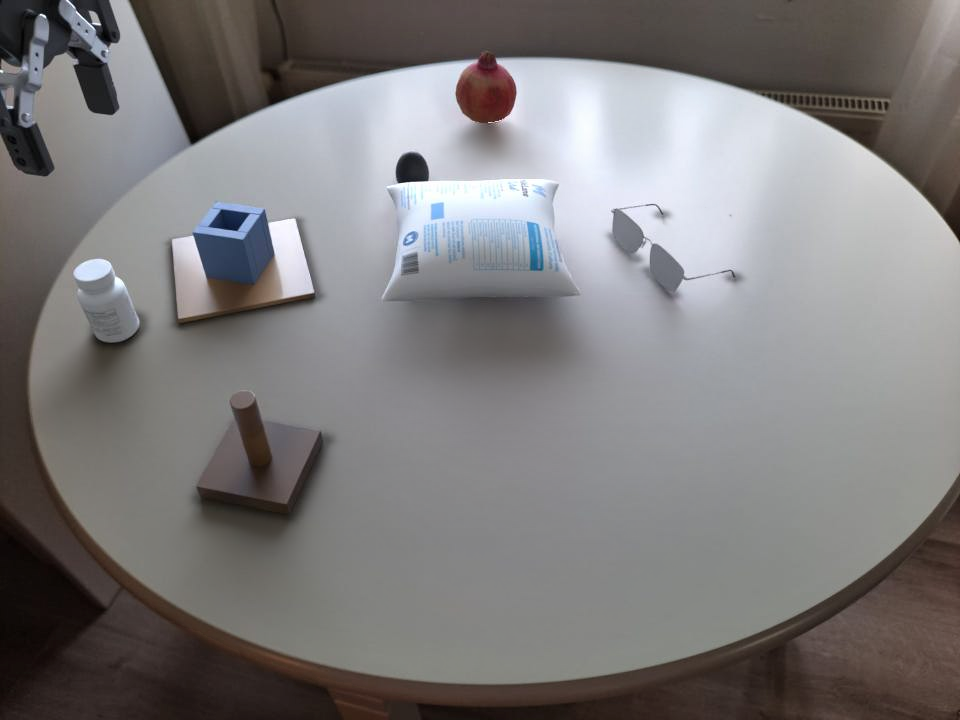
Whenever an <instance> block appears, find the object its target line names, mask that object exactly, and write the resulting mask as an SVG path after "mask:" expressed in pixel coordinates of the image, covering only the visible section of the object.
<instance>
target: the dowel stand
mask: <svg viewBox="0 0 960 720" xmlns="http://www.w3.org/2000/svg"><path fill="white" fill-rule="evenodd" d="M229 405H230V409H231V411H232V415H233V421H232V422H231V423H230V426H229V428H228V429H227V431H226V433H225V434H224V436H223V438H222V440H221V442H220V444H219V445H218V447H217V449H216V450H215V452H214V455H213V456H212V458H211V460H209V463H208V465H207V466H206V468H205V470H204V472H203V474H202V475H201V477H200V479H199V481H198V483H197V484H196V486H195V487H196V490H197V492H198V495H199V497H200V498H203V499H204V498H205V499H210V500H215V501H219V502H225V503H230V504H234V505H239V506H244V507H250V508H255V509H260V510H263V511H264V510H265V511H270V512H275V513H280V514H285V515H290V514H291V513H292V510H293V508H294V506H295V504H296V501H297V499H298V497H299V495H300V492H301V490H302V488H303V487H304V484H305V482H306V479H307V477H308V475H309V472H310V470H311V468H312V466H313V464H314V462H315V460H316V457H317V456H318V453H319V450H320V448H321V446H322V444H323V442H324V439H323V434H322V430H320V429H316V428H312V427H311V428H310V427H305V426H299V425H293V424H289V423H283V422H278V421H271V420H266V419H263V417H262V414H261V411H260V408H259V404H258V401H257V397H256V394H255V393H254V392H252V391H250V390H246V389H245V390H244V389H243V390H238V391H236V392H235V393H234V394H232V395H231V396H230V399H229Z"/></svg>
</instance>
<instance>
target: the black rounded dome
mask: <svg viewBox="0 0 960 720" xmlns="http://www.w3.org/2000/svg"><path fill="white" fill-rule="evenodd" d="M395 179H396V182H397V184H401V183H409V182H429V179H430V169H429V166H428V163H427V161H426V159H425V158H424V156H423V155H422V153H419V152H418V151H416V150H414V149H410V150H406V151H405V152H403V153H402V154H401V155H400V157H399V158H398V160H397V163H396V165H395Z"/></svg>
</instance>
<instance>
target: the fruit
mask: <svg viewBox="0 0 960 720" xmlns="http://www.w3.org/2000/svg"><path fill="white" fill-rule="evenodd" d="M478 55H479V56H478V57H477V61H475V62H472V63H470V64H469V65H468V66H466V68H464V69H463V71H462V72H461V73H460V75H459V78H458V81H457V84H456V86H455V99H456V103H457V105H458V106H459V109H460V111H461V113H462V114H463V115H464V116H465V117H467V118H468V119H470V120H471V121H472V122H473V121H475V122H474V123H477V122H479V123H478V124H483V125H492V124H493V123H488V122H495V121H499V120H501V121H503V120H504V119H506V118H507V117H508V116H510V115H511V114H512V111H513V109H514V107H515V104H516V99H517V94H518V91H517V84H516V82H515V80H514V78H513V76H512V75H511V74H510V72H509V71H508V69H506V68H505V67H504V66H503V65H501V64H500V63H498V62H497V58H496V56H495V54H494V53H493V52H489V51H488V50H483V51H482V52H481V53H480V54H478ZM505 117H506V118H505ZM502 119H503V120H502ZM499 122H500V121H499ZM496 123H498V122H495V123H494V124H496Z"/></svg>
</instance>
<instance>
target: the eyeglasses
mask: <svg viewBox="0 0 960 720" xmlns="http://www.w3.org/2000/svg"><path fill="white" fill-rule="evenodd" d="M650 206H655V207H656V208H657V209H658V211H659V213H660V214H661V216H663V215H664V212H663V211H662V209H661V208H660V207H659V205H658V204H656V203H648V204H647V203H646V204H641V205H632V206H624V207H623V206H622V207H615V208H611V210H610V212H611V213H612V214H613V215H612V226H611V227H612V228H611V230H612V236H613V238H614V240H615V241H616V242H617V244H619V245H620V246H621V247H622V248H623V249H624V250H626V251H627V252H629V253H630V254H635V253H637V252H638V251H639V249H643V248H644V247H645V245H646V244H647V241H648V242H650V245H651V246H650V250H649V252H650V253H649V269H650V272H651V274H652V276H653V277H654V278H655V280H656V281H657V282H658V283H659V284H660V285H661V286H662V287H663V288H664V289H665V290H667V291H668V292H676V291H677V290H678V288H679V287H680V286H681V284H682V281H683V280H684V281H691V280H695V279H700V278H705V277H708V276H709V277H710V276H714V275H718V274H724V273H728V272H731V275H732V278H733V279H735V278H736V277H737V276H736V275H735V272H734V271H733V270H732V269H727V270H726V269H725V270H722V271H717V272H712V273H707V274H701V275H696V276H695V275H694V276H690V277H687V276H685V269H684V267H683V266H682V265H681V264H680V262H679V261H678V260H677V259H676V258H675V257H674V256H673V255H672V254H671V253H670V252H669V251H668V250H666V249H665V247H663V246H662V245H661V244H659V243H657V242H654V243H653V242H652V240H651V239H650V238H648V237H647V236H645V234H644V230H643V229H642V228H641V226H640V225H639V224H638V223H637V222H636V221H635V220H634V219H632V218H631V217H630V215H628V214H627V213H626V212H625V211H623V210H627V209H634V208H640V207H650Z"/></svg>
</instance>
